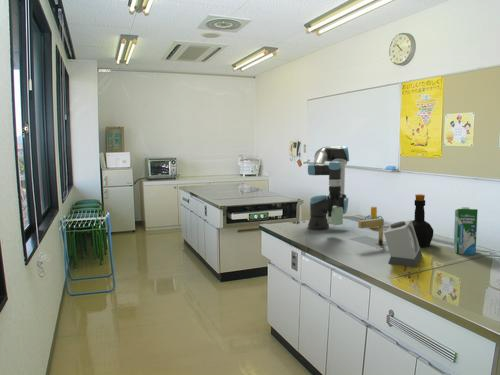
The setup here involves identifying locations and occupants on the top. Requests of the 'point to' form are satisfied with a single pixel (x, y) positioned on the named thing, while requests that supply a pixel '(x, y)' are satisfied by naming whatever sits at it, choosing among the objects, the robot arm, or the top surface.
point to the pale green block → (336, 216)
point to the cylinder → (373, 216)
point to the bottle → (422, 223)
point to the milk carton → (465, 231)
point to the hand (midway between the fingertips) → (334, 221)
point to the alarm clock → (403, 244)
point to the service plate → (370, 241)
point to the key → (373, 223)
